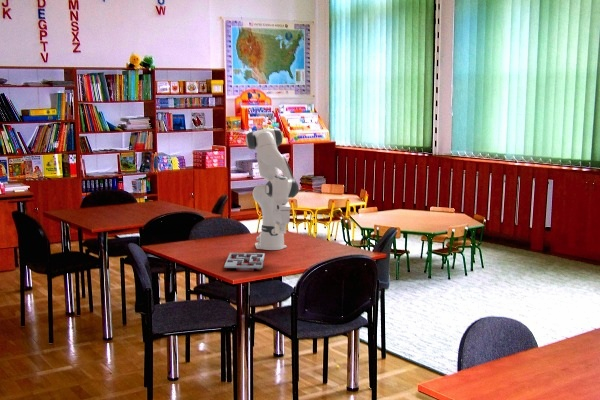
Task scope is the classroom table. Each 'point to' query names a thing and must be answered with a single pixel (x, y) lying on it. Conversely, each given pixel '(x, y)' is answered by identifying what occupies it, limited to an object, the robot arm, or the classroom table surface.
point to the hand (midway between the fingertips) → (280, 230)
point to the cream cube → (277, 228)
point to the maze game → (245, 261)
